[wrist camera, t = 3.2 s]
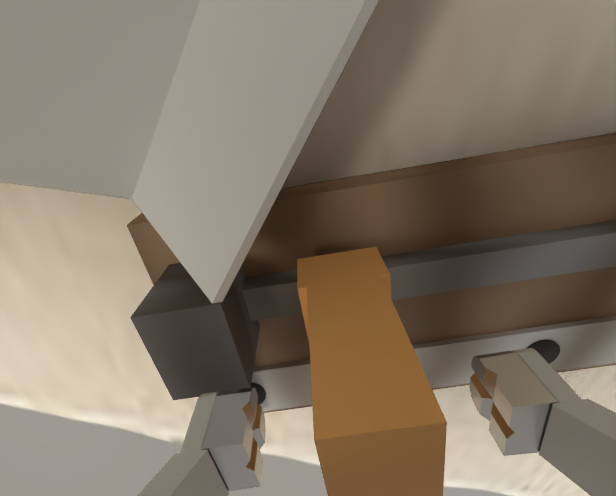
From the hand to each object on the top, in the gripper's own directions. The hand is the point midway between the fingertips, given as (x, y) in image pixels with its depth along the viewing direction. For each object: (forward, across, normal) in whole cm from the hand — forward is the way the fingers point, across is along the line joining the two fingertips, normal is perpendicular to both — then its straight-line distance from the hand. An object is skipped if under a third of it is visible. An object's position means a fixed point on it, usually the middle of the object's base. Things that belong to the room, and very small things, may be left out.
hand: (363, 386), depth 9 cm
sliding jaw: (+5, 0, +3) cm, 6 cm away
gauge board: (+7, -4, +2) cm, 8 cm away
